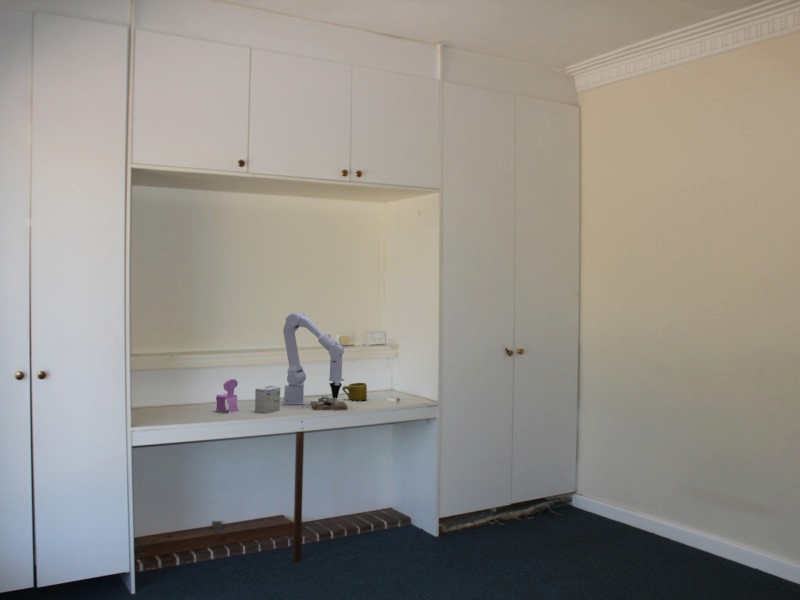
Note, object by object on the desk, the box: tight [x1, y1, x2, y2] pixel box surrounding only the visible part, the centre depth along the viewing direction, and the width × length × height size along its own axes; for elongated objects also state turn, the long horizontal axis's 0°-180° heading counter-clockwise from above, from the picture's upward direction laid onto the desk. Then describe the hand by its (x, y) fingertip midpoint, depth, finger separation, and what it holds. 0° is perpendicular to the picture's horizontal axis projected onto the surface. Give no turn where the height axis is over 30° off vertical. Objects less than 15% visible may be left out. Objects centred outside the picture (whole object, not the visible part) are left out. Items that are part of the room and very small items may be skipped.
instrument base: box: [310, 400, 348, 411], centre depth 360 cm, size 16×14×3 cm
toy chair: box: [215, 378, 240, 414], centre depth 342 cm, size 8×9×15 cm
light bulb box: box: [254, 385, 281, 414], centre depth 347 cm, size 11×7×11 cm, turn 152°
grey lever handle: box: [318, 395, 339, 405], centre depth 357 cm, size 13×6×3 cm, turn 39°
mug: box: [341, 382, 368, 402], centre depth 383 cm, size 12×10×10 cm
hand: (334, 398), depth 362 cm, fingers closed
